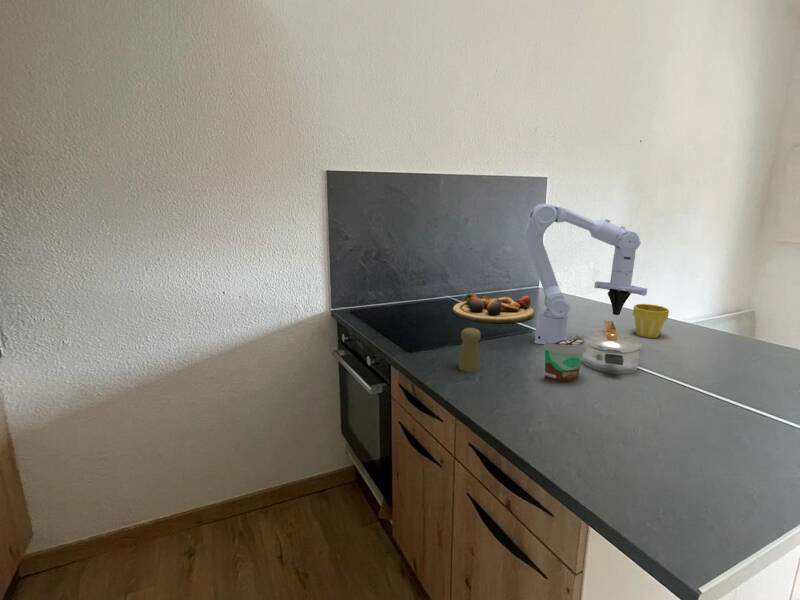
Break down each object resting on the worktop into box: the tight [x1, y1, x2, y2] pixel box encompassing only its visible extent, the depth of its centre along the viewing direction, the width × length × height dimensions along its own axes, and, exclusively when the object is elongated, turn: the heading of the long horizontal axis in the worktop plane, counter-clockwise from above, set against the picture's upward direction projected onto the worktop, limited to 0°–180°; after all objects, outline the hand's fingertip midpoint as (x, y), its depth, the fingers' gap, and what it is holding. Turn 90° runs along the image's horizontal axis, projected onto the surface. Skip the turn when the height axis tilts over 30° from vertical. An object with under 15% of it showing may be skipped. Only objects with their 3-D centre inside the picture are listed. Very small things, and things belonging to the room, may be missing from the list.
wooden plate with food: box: [452, 292, 535, 324], centre depth 172 cm, size 32×32×8 cm
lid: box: [582, 320, 643, 353], centre depth 121 cm, size 20×15×3 cm
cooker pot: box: [581, 344, 641, 375], centre depth 120 cm, size 22×14×6 cm, turn 160°
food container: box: [542, 335, 586, 383], centre depth 109 cm, size 12×6×10 cm, turn 117°
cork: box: [457, 327, 482, 373], centre depth 115 cm, size 6×6×11 cm
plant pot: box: [632, 303, 670, 339], centre depth 145 cm, size 10×10×10 cm
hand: (616, 314), depth 132 cm, fingers closed
